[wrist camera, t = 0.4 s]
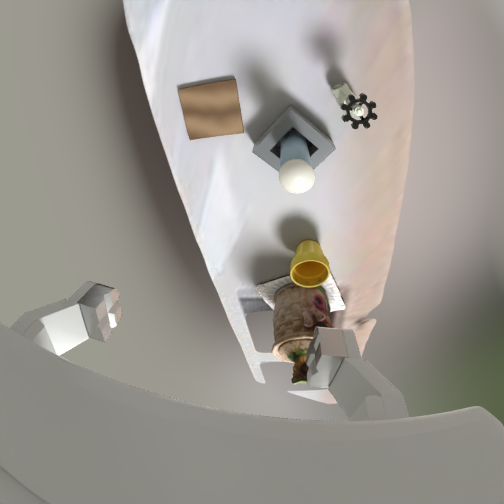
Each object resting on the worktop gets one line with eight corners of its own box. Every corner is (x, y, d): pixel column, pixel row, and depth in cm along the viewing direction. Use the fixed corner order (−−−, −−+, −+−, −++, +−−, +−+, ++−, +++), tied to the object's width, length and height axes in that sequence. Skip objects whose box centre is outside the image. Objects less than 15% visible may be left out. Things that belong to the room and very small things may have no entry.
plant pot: (282, 247, 76) (281, 273, 69) (311, 228, 71) (314, 253, 63) (305, 266, 81) (306, 292, 74) (333, 250, 75) (338, 276, 68)
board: (179, 89, 48) (178, 90, 48) (235, 79, 46) (234, 79, 46) (191, 138, 56) (189, 140, 56) (244, 131, 55) (243, 133, 54)
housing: (290, 104, 49) (291, 109, 46) (332, 141, 54) (335, 148, 50) (254, 144, 56) (252, 152, 53) (295, 176, 61) (296, 185, 58)
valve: (339, 117, 50) (352, 136, 41) (323, 92, 47) (333, 104, 38) (365, 104, 47) (384, 120, 38) (350, 78, 43) (366, 87, 35)
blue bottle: (292, 124, 52) (295, 155, 40) (312, 141, 54) (322, 177, 42) (274, 142, 56) (271, 179, 43) (294, 158, 58) (297, 199, 46)
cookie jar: (283, 321, 102) (279, 401, 79) (253, 282, 88) (241, 376, 65) (346, 306, 92) (355, 391, 69) (327, 261, 78) (337, 363, 55)
